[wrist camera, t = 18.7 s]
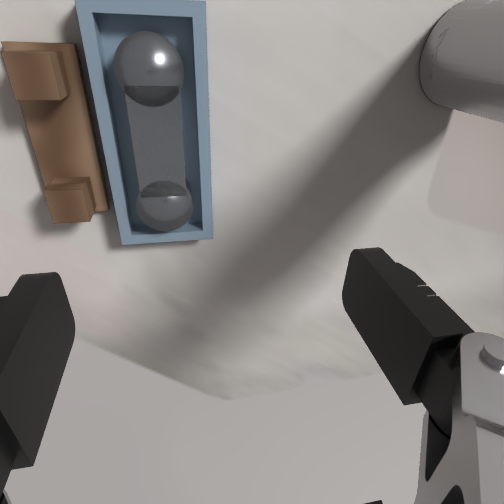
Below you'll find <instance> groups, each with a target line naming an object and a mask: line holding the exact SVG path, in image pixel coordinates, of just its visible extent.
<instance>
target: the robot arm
mask: <svg viewBox="0 0 504 504" xmlns="http://www.w3.org/2000/svg"><path fill="white" fill-rule="evenodd" d="M420 80H421V85H422V88H423V90H424V92H425V94H426V95H427V97H428V98H429V99H430V100H431V101H433V102H434V103H436V104H438V105H441V106H445V107H448V108H452V109H456V110H459V111H463V112H466V113H469V114H473V115H477V116H481V117H484V118H488V119H491V120H495V121H499V122H503V123H504V0H465V1H463V2H461V3H458V4H457V5H456V6H454V7H453V8H451V9H450V10H449V11H448V12H447V13H446V14H445V15H444V16H443V17H442V18H441V19H440V20H439V21H438V23H437V24H436V25H435V27H434V28H433V30H432V31H431V33H430V35H429V37H428V39H427V41H426V43H425V46H424V49H423V52H422V56H421V61H420ZM342 300H343V305H344V308H345V311H346V312H347V314H348V316H349V317H350V319H351V321H352V322H353V324H354V325H355V327H356V329H357V330H358V332H359V333H360V335H361V337H362V338H363V340H364V342H365V343H366V345H367V346H368V348H369V350H370V351H371V353H372V354H373V356H374V358H375V359H376V361H377V363H378V364H379V366H380V367H381V369H382V371H383V372H384V374H385V376H386V377H387V379H388V380H389V382H390V384H391V385H392V387H393V388H394V390H395V392H396V393H397V395H398V396H399V398H400V400H401V401H402V403H403V404H404V405H409V404H415V403H421V402H422V403H423V405H424V406H425V408H426V409H427V410H426V412H425V415H424V418H423V428H422V441H421V453H420V466H419V480H418V489H417V495H416V499H415V502H414V504H504V339H503V338H501V337H498V336H495V335H492V334H488V333H481V332H474V331H473V330H472V329H471V328H470V327H469V326H468V325H467V324H466V323H465V322H464V321H463V320H462V319H461V318H460V317H459V316H458V315H457V314H456V313H455V312H454V311H453V310H452V309H451V308H450V307H449V306H448V305H447V304H446V303H445V302H444V301H443V300H442V299H441V298H440V297H439V296H436V293H435V292H434V291H433V290H432V289H431V288H430V287H429V286H426V283H425V282H424V281H423V280H422V279H421V278H420V277H419V276H418V275H417V274H416V273H415V272H413V271H412V270H410V269H408V268H407V267H405V266H403V265H401V264H400V263H395V262H394V261H393V260H392V259H391V258H390V256H389V255H388V254H387V253H386V252H385V251H384V250H383V249H381V248H379V247H377V248H365V249H354V250H353V251H352V252H351V254H350V258H349V262H348V267H347V272H346V276H345V281H344V286H343V290H342ZM74 337H75V321H74V316H73V313H72V310H71V307H70V304H69V301H68V298H67V295H66V292H65V289H64V286H63V283H62V280H61V277H60V275H59V274H58V273H56V272H50V273H38V274H25V275H22V276H20V277H19V279H18V280H17V282H16V284H15V285H14V287H13V288H12V290H11V291H10V293H9V295H8V296H3V297H0V504H12V503H11V501H10V499H9V497H8V495H7V493H6V491H5V490H4V487H5V485H6V482H7V479H8V477H9V474H10V471H11V470H12V469H19V468H25V467H31V466H33V465H34V462H35V459H36V456H37V452H38V450H39V447H40V444H41V440H42V437H43V434H44V431H45V428H46V425H47V422H48V419H49V416H50V413H51V410H52V407H53V403H54V400H55V397H56V394H57V391H58V388H59V385H60V382H61V378H62V376H63V373H64V369H65V366H66V363H67V360H68V357H69V354H70V351H71V348H72V345H73V342H74ZM366 504H383V503H382V501H381V500H379V501H374V502H370V503H366Z"/></svg>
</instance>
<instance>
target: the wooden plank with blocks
mask: <svg viewBox="0 0 504 504" xmlns="http://www.w3.org/2000/svg"><path fill="white" fill-rule="evenodd" d="M1 43H2V46H3V50H4V52H1V54H2V57H3V60H4V63H5V67H6V70H7V73H8V76H9V80H10V83H11V86H12V90H13V93H14V96H15V99H16V100H19V103H20V106H21V109H22V113H23V116H24V119H25V122H26V126H27V129H28V132H29V136H30V139H31V142H32V146H33V149H34V152H35V156H36V159H37V162H38V166H39V169H40V172H41V176H42V179H43V182H44V186H45V190H44V194H45V197H46V201H47V204H48V207H49V211H50V214H51V217H52V220H53V224H55V223H73V222H90V220H91V218H92V216H93V213H94V211H108V210H109V202H108V197H107V192H106V187H105V182H104V178H103V173H102V168H101V163H100V158H99V153H98V148H97V143H96V138H95V133H94V128H93V123H92V119H91V114H90V109H89V104H88V99H87V94H86V89H85V84H84V79H83V74H82V69H81V64H80V60H79V55H78V50H77V45H76V44H72V43H39V42H7V41H4V42H1Z"/></svg>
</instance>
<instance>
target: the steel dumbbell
mask: <svg viewBox="0 0 504 504" xmlns="http://www.w3.org/2000/svg"><path fill="white" fill-rule="evenodd" d="M114 72H115V76H116V79H117V81H118V83H119V85H120V87H121V89H122V90H123V91H124V93H125V98H126V104H127V111H128V117H129V124H130V131H131V137H132V144H133V150H134V157H135V164H136V170H137V177H138V183H139V192H138V196H137V201H136V209H137V213H138V215H139V217H140V219H141V220H142V221H143V222H144V223H145V224H146V225H147V226H149V227H151V228H153V229H155V230H159V231H173V230H176V229H179V228H181V227H182V226H184V225H185V224H186V223H187V222H188V220H189V219H190V217H191V215H192V211H193V202H192V195H191V188H190V185H189V182H188V181H187V179H186V178H185V167H184V154H183V141H182V127H181V114H180V101H179V92H180V90H181V88H182V85H183V81H184V67H183V63H182V60H181V57H180V55H179V52H178V50H177V49H176V47H175V46H174V45H173V44H172V42H171V41H170V40H168V39H167V38H166V37H164V36H163V35H161V34H159V33H156V32H152V31H138V32H134V33H132V34H130V35H128V36H127V37H125V38H124V39H123V40H122V41H121V42H120V44H119V45H118V47H117V49H116V52H115V56H114Z"/></svg>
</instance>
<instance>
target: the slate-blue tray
mask: <svg viewBox="0 0 504 504" xmlns="http://www.w3.org/2000/svg"><path fill="white" fill-rule="evenodd" d="M75 5H76V10H77V16H78V21H79V26H80V31H81V36H82V41H83V46H84V52H85V57H86V62H87V67H88V72H89V77H90V82H91V88H92V93H93V98H94V103H95V108H96V113H97V118H98V123H99V129H100V134H101V139H102V144H103V149H104V154H105V159H106V165H107V170H108V175H109V180H110V185H111V190H112V195H113V201H114V206H115V211H116V216H117V221H118V226H119V231H120V237H121V242H122V245H130V244H144V243H159V242H173V241H187V240H202V239H213V219H212V187H211V155H210V124H209V92H208V60H207V28H206V1H193V0H75ZM138 31H152V32H156V33H159V34H161V35H163V36H164V37H166V38H167V39H168V40H170V41H171V42H172V44H173V45H174V46H175V47H176V49H177V50H178V52H179V55H180V57H181V60H182V63H183V67H184V81H183V85H182V88H181V90H180V92H179V101H180V114H181V127H182V141H183V154H184V167H185V178H186V179H187V181H188V182H189V185H190V188H191V195H192V202H193V211H192V215H191V217H190V219H189V220H188V222H187V223H186V224H185V225H184V226H182V227H181V228H179V229H176V230H173V231H159V230H155V229H153V228H151V227H149V226H147V225H146V224H145V223H144V222H143V221H142V220H141V219H140V217H139V215H138V213H137V209H136V201H137V196H138V192H139V183H138V177H137V170H136V164H135V157H134V150H133V144H132V137H131V131H130V124H129V117H128V111H127V104H126V98H125V93H124V91H123V90H122V89H121V87H120V85H119V83H118V81H117V79H116V76H115V72H114V56H115V52H116V49H117V47H118V45H119V44H120V42H121V41H122V40H123V39H124V38H125V37H127V36H128V35H130V34H132V33H134V32H138Z"/></svg>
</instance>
